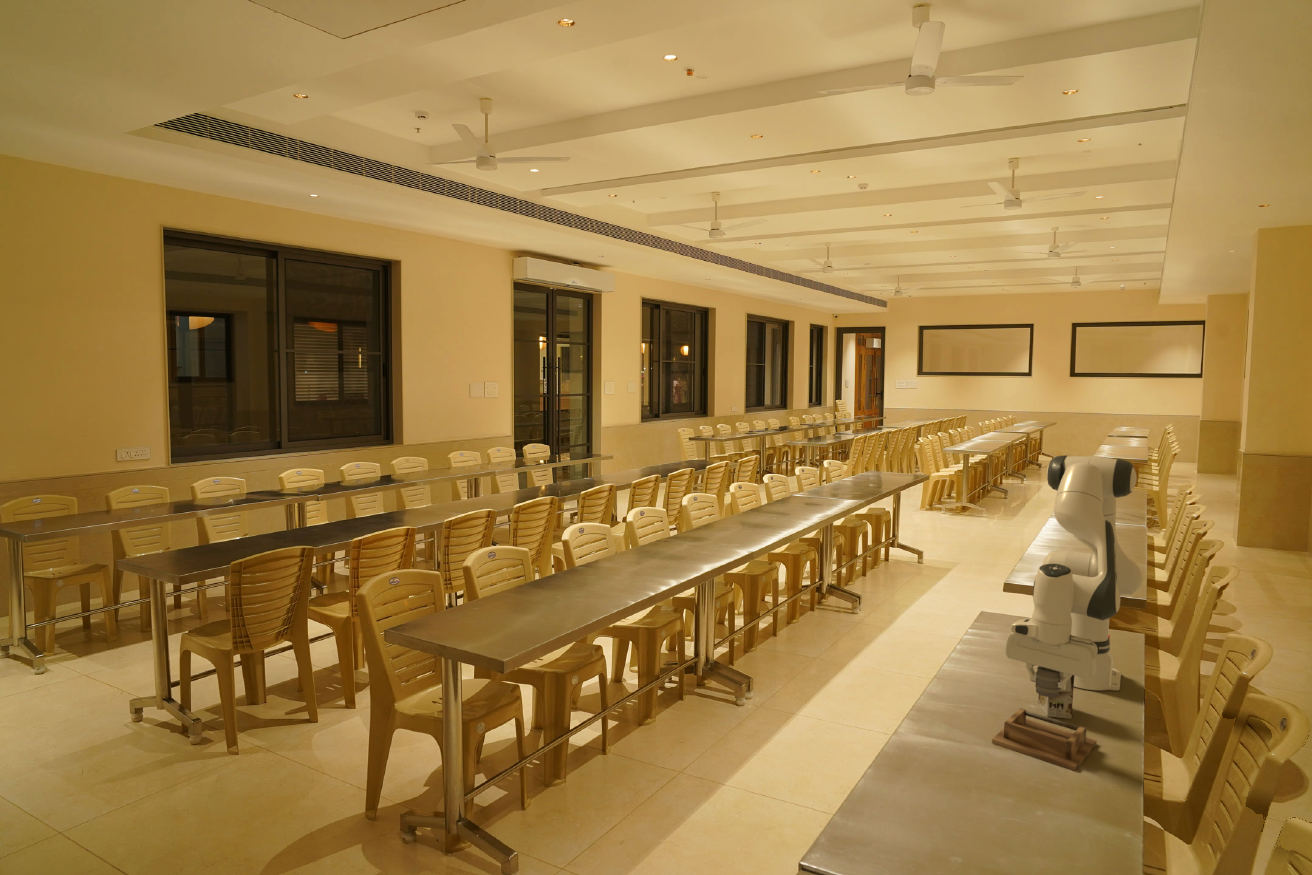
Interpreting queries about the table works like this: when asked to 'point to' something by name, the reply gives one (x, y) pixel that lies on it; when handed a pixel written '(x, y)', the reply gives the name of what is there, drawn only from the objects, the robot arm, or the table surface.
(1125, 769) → the table surface
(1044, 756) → the brown wooden open box
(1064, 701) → the coffee box
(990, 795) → the table surface
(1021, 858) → the table surface
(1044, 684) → the stacked grey discs
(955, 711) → the table surface
